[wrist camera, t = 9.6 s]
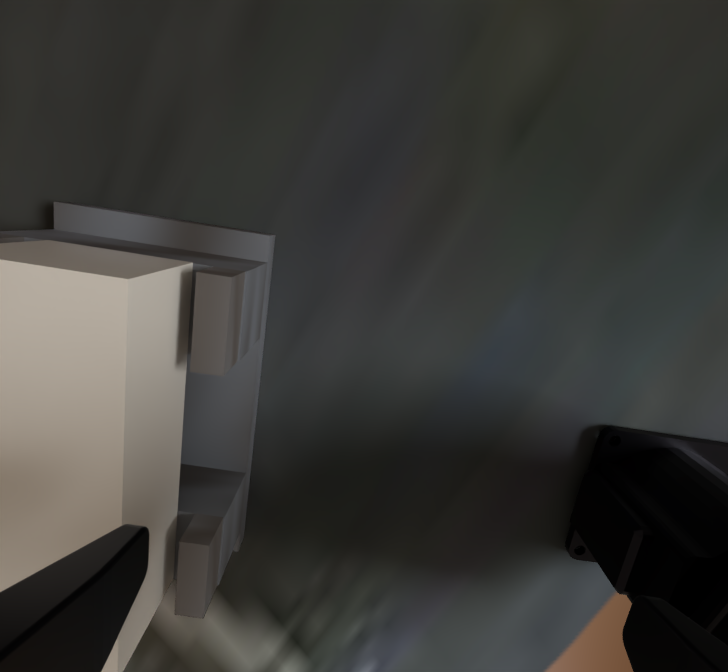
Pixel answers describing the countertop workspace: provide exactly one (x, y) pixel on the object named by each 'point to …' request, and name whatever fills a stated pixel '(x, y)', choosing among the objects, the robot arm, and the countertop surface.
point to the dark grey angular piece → (199, 372)
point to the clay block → (91, 409)
